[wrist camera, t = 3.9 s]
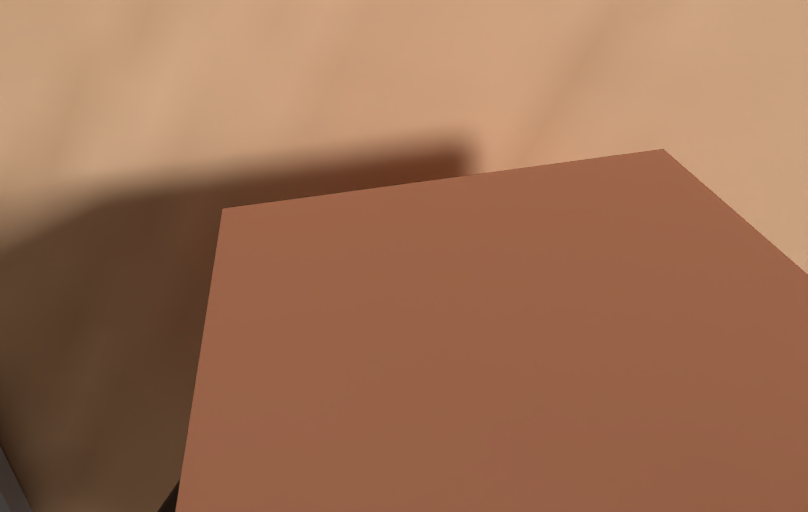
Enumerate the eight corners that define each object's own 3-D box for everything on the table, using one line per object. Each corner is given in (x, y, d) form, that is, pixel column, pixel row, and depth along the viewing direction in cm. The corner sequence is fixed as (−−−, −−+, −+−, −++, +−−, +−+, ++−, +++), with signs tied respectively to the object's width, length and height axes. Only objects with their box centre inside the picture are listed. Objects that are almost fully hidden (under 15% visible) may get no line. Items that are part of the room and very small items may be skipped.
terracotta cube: (632, 463, 11) (849, 864, 7) (294, 520, 11) (301, 983, 6) (663, 149, 9) (1039, 476, 4) (223, 208, 8) (156, 631, 4)
